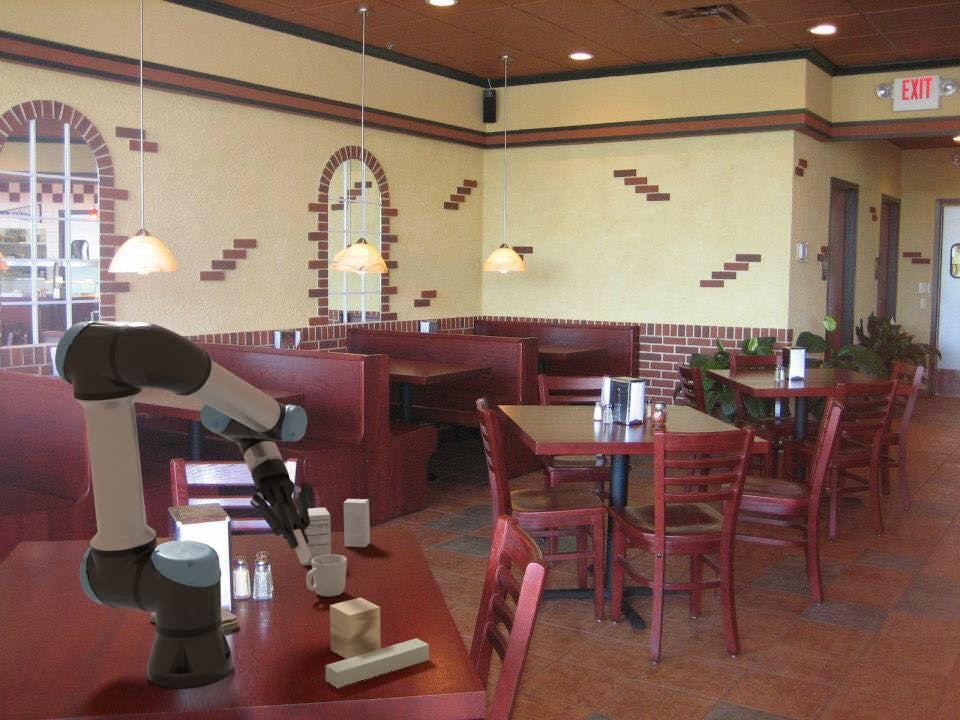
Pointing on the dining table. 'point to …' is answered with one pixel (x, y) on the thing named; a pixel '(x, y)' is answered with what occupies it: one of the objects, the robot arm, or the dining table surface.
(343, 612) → the block
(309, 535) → the supplement box
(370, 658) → the pale grey bar
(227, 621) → the washcloth
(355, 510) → the skincare box
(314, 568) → the cup
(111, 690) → the dining table surface
